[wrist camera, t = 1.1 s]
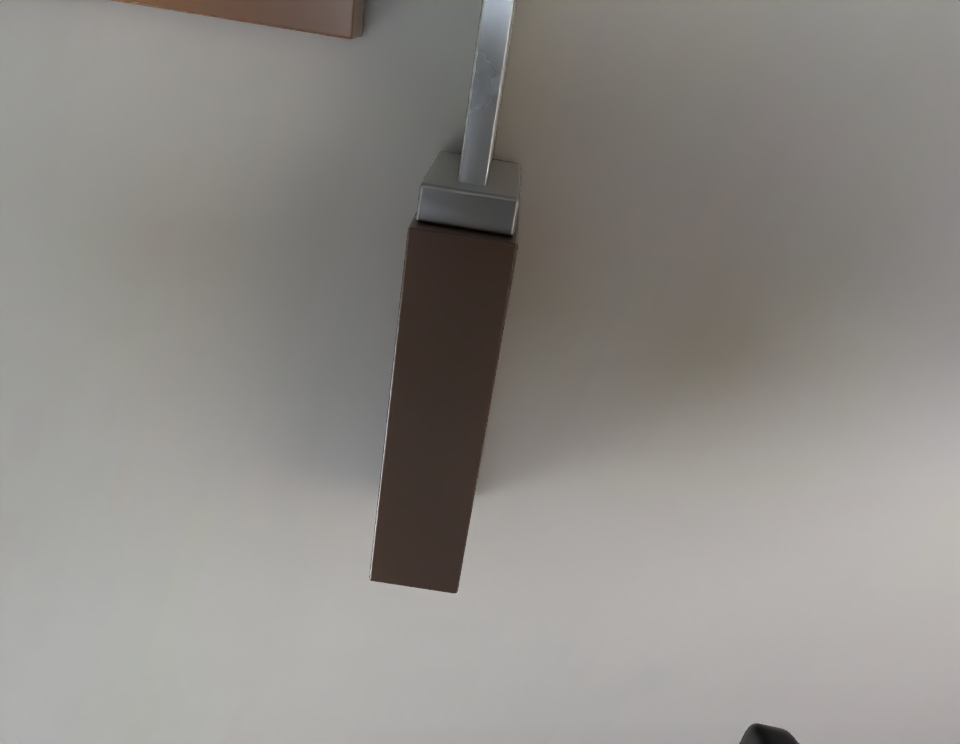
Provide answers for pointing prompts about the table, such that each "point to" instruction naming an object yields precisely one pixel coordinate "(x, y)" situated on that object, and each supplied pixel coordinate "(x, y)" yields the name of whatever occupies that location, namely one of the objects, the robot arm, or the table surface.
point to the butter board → (278, 13)
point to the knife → (449, 336)
